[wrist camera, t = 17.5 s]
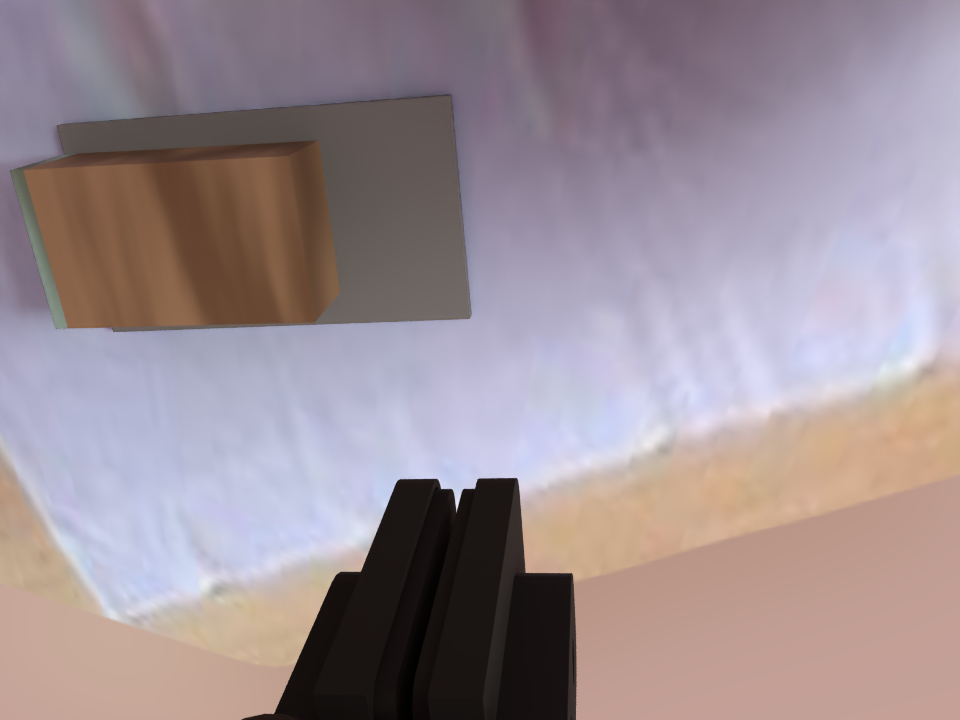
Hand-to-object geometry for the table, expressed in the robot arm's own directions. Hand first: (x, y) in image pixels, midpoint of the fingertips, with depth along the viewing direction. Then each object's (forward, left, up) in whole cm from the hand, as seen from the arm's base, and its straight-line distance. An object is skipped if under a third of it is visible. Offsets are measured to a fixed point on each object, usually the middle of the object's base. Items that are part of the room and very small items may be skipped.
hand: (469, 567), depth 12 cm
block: (+10, +1, -24) cm, 26 cm away
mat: (+13, +1, -27) cm, 30 cm away
